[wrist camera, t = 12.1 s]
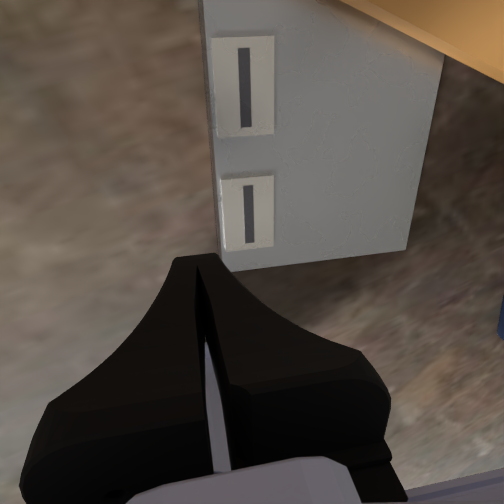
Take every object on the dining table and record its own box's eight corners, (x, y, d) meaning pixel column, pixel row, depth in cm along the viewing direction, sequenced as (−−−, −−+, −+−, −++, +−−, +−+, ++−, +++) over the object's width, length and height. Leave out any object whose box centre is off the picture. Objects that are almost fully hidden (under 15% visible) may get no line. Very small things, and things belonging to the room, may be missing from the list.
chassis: (385, 231, 26) (408, 252, 23) (217, 250, 24) (223, 276, 22) (429, -33, 19) (469, -41, 16) (195, -31, 17) (200, -40, 15)
